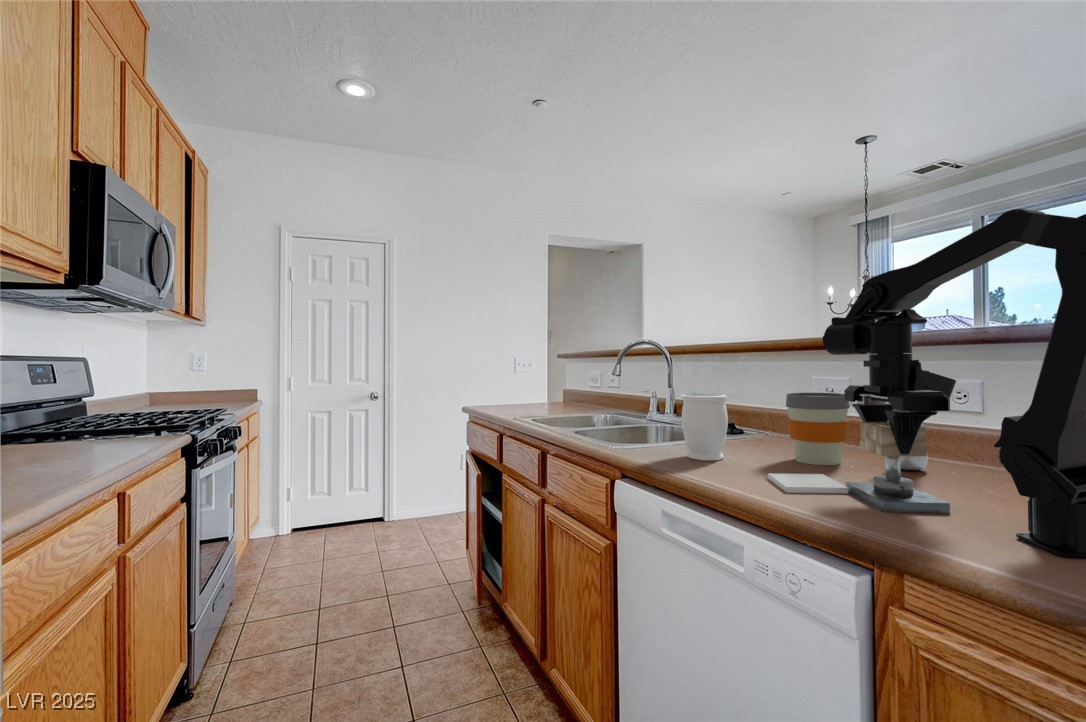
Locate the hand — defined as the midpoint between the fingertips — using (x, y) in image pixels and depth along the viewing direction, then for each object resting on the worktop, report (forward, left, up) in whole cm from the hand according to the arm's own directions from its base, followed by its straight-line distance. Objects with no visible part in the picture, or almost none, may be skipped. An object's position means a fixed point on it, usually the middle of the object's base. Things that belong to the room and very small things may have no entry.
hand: (892, 450), depth 78 cm
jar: (+34, +23, -8) cm, 42 cm away
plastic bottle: (+23, -15, -8) cm, 29 cm away
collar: (0, 0, 0) cm, 0 cm away
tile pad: (+9, +10, -8) cm, 16 cm away
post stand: (0, 0, -8) cm, 8 cm away
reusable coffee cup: (+31, -1, -8) cm, 32 cm away
